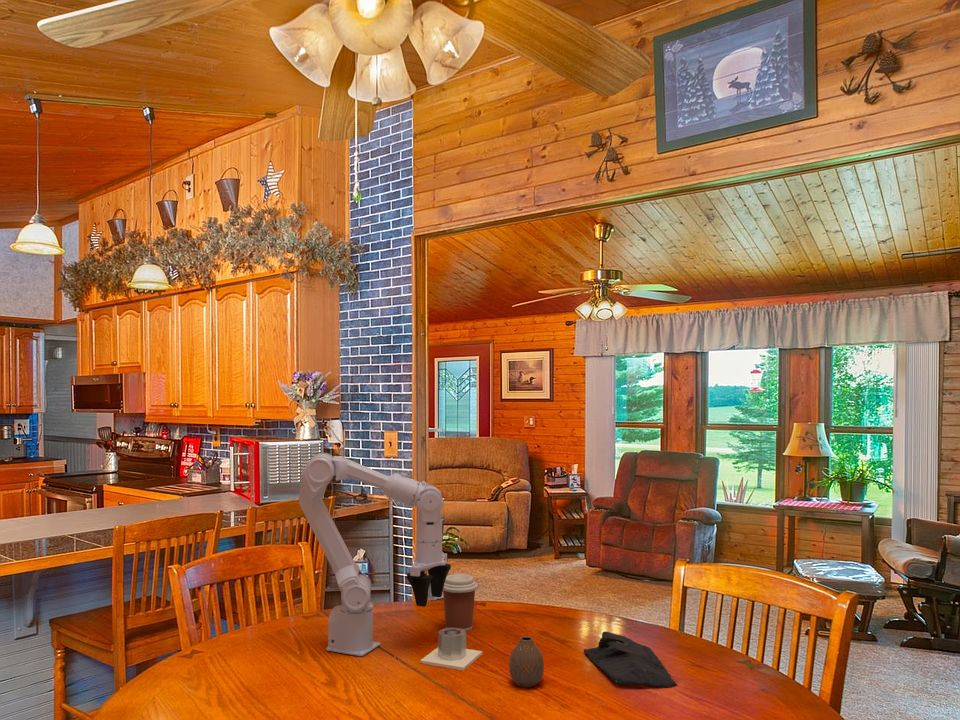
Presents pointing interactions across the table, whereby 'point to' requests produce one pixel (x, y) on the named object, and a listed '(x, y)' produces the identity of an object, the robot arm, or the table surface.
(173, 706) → the table surface
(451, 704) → the table surface
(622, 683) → the crumpled black cloth
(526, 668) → the vase
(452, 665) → the post stand
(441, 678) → the table surface
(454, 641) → the collar
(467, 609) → the coffee cup
